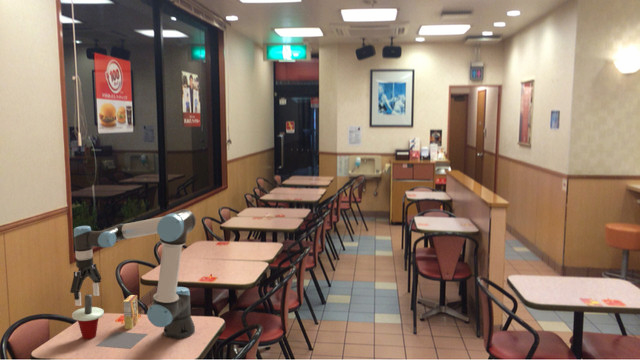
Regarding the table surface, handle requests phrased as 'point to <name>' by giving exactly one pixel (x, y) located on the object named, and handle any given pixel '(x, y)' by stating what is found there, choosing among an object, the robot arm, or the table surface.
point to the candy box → (130, 311)
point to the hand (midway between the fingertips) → (87, 300)
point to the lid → (88, 311)
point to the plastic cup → (88, 328)
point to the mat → (122, 340)
